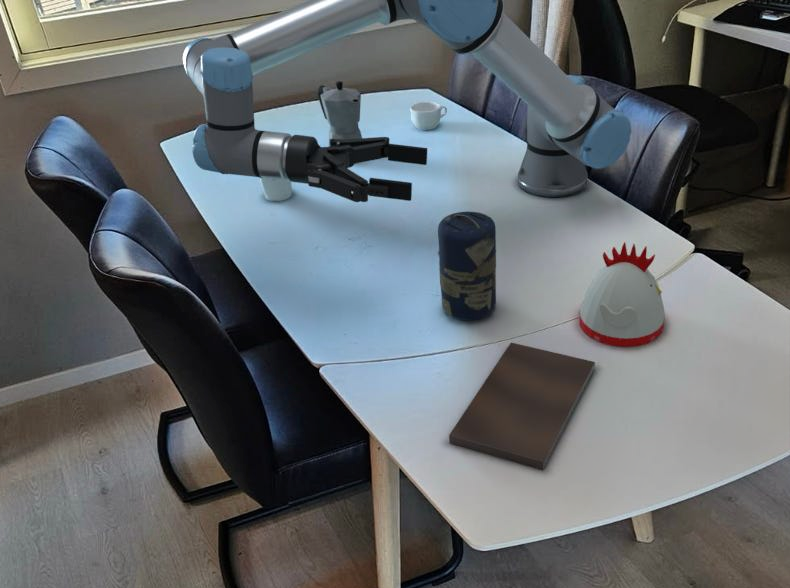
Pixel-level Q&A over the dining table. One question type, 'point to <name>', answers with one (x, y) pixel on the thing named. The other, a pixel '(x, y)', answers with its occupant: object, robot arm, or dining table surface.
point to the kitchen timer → (623, 301)
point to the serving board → (523, 405)
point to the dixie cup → (276, 189)
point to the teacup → (426, 114)
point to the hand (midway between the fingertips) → (419, 173)
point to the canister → (467, 264)
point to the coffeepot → (341, 111)
